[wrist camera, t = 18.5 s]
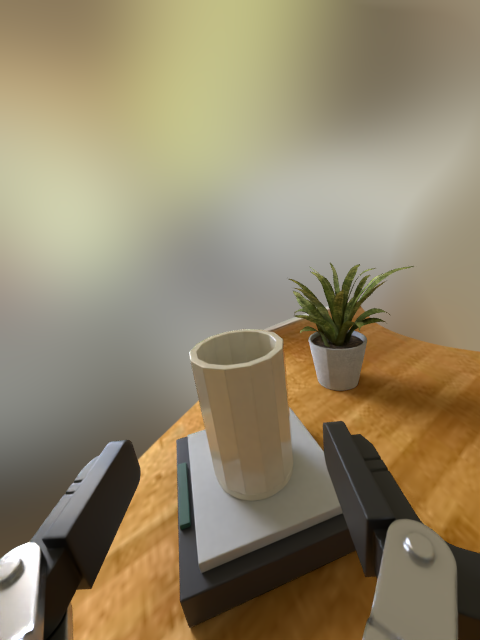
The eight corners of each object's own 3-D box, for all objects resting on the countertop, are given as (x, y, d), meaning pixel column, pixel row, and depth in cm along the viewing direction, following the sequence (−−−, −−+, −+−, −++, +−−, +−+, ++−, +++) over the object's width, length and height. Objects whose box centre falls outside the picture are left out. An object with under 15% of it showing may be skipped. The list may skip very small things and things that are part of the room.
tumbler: (223, 516, 16) (193, 380, 13) (209, 444, 22) (187, 340, 19) (310, 483, 17) (301, 352, 14) (274, 424, 23) (263, 323, 20)
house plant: (384, 353, 39) (388, 247, 34) (432, 410, 26) (449, 253, 21) (292, 357, 42) (284, 260, 37) (295, 409, 29) (284, 272, 24)
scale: (189, 629, 13) (176, 593, 12) (181, 458, 25) (174, 432, 24) (373, 543, 16) (374, 507, 15) (290, 423, 27) (288, 399, 26)
